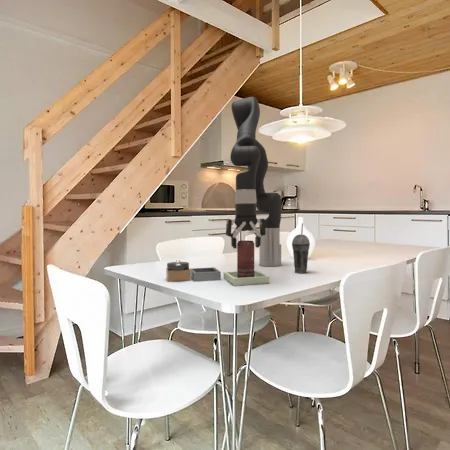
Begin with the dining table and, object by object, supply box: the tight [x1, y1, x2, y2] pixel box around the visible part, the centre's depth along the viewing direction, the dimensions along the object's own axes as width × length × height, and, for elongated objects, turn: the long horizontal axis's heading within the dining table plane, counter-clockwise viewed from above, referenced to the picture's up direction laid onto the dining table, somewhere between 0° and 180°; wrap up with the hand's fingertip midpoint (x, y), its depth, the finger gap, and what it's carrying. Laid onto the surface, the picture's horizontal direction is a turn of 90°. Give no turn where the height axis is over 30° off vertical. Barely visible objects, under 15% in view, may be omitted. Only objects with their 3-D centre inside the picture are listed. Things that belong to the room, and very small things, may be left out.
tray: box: [223, 269, 270, 287], centre depth 129 cm, size 13×13×2 cm
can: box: [236, 239, 255, 278], centre depth 129 cm, size 6×6×14 cm
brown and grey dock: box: [165, 260, 222, 283], centre depth 134 cm, size 19×10×7 cm, turn 105°
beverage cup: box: [291, 223, 311, 274], centre depth 145 cm, size 7×7×20 cm
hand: (246, 247), depth 128 cm, fingers open, 8 cm apart
